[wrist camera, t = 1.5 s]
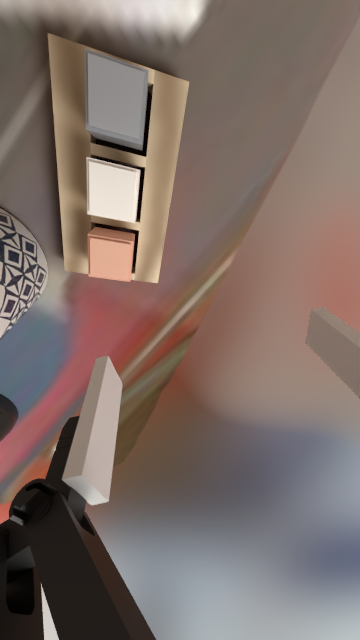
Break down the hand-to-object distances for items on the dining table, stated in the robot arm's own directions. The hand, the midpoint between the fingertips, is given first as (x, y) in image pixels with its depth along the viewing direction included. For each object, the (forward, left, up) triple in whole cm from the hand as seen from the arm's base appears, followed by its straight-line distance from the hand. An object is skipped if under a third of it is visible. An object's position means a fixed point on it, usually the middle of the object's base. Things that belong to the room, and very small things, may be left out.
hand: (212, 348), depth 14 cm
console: (-8, +7, -24) cm, 26 cm away
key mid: (-8, +7, -21) cm, 23 cm away
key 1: (-8, 0, -21) cm, 22 cm away
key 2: (-8, +14, -21) cm, 26 cm away
